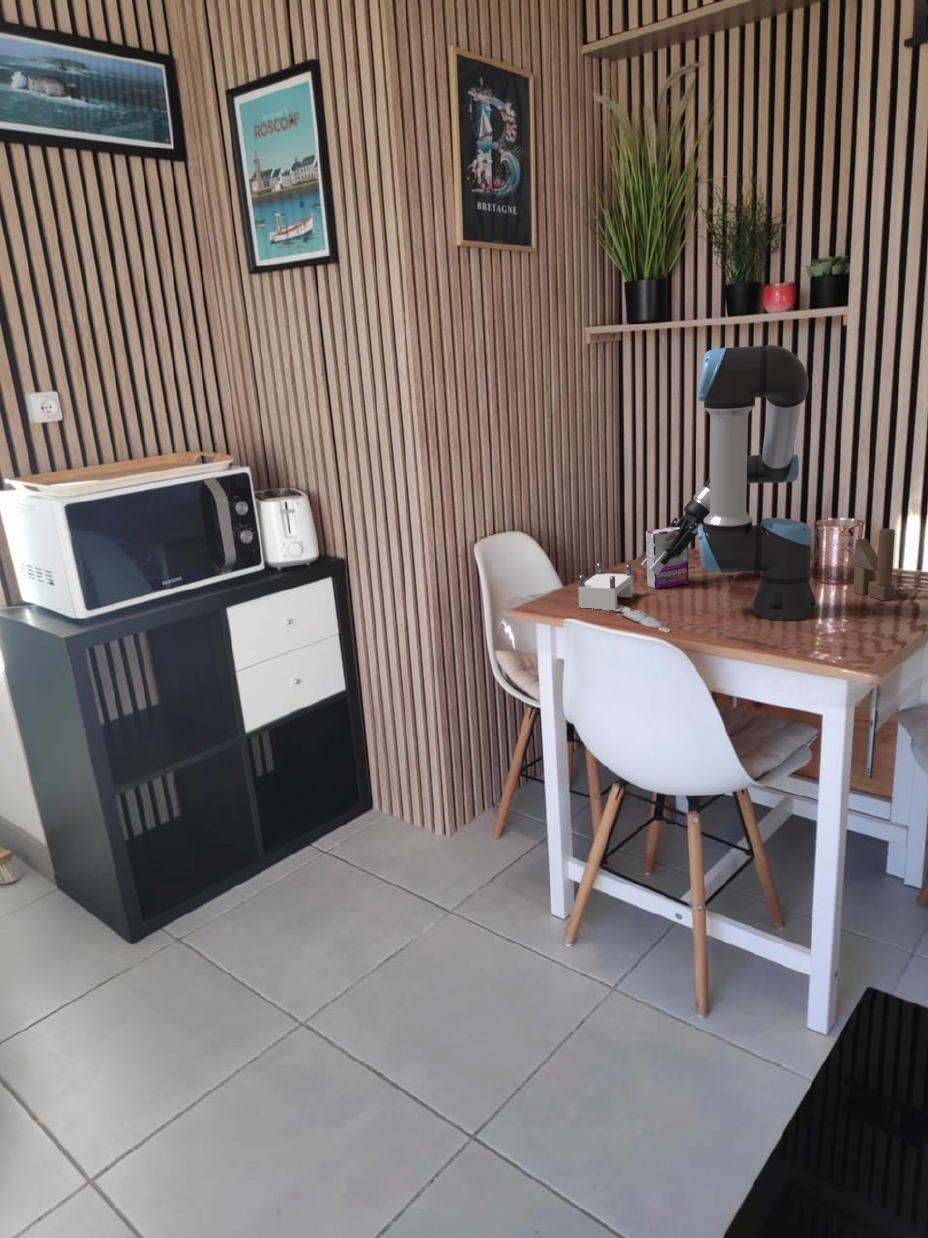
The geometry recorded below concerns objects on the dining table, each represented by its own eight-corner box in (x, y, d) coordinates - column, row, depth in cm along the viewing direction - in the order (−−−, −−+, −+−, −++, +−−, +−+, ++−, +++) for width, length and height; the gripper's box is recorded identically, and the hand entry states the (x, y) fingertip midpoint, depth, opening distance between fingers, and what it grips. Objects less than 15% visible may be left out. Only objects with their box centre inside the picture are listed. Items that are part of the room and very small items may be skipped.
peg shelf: (632, 595, 252) (632, 564, 250) (615, 610, 239) (614, 577, 236) (598, 593, 257) (597, 562, 254) (579, 608, 243) (577, 575, 241)
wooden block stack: (863, 590, 241) (867, 523, 236) (894, 599, 231) (899, 529, 227) (852, 592, 240) (855, 525, 235) (883, 601, 230) (887, 531, 225)
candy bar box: (679, 580, 264) (679, 525, 260) (689, 584, 260) (689, 527, 255) (645, 586, 261) (645, 530, 256) (654, 589, 256) (654, 532, 252)
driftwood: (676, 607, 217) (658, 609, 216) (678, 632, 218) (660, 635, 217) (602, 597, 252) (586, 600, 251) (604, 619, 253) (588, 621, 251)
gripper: (726, 519, 249) (671, 584, 250) (696, 510, 266) (644, 571, 267) (709, 502, 246) (653, 568, 248) (679, 494, 264) (627, 555, 265)
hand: (648, 569), depth 258 cm, fingers closed on candy bar box, 5 cm apart
